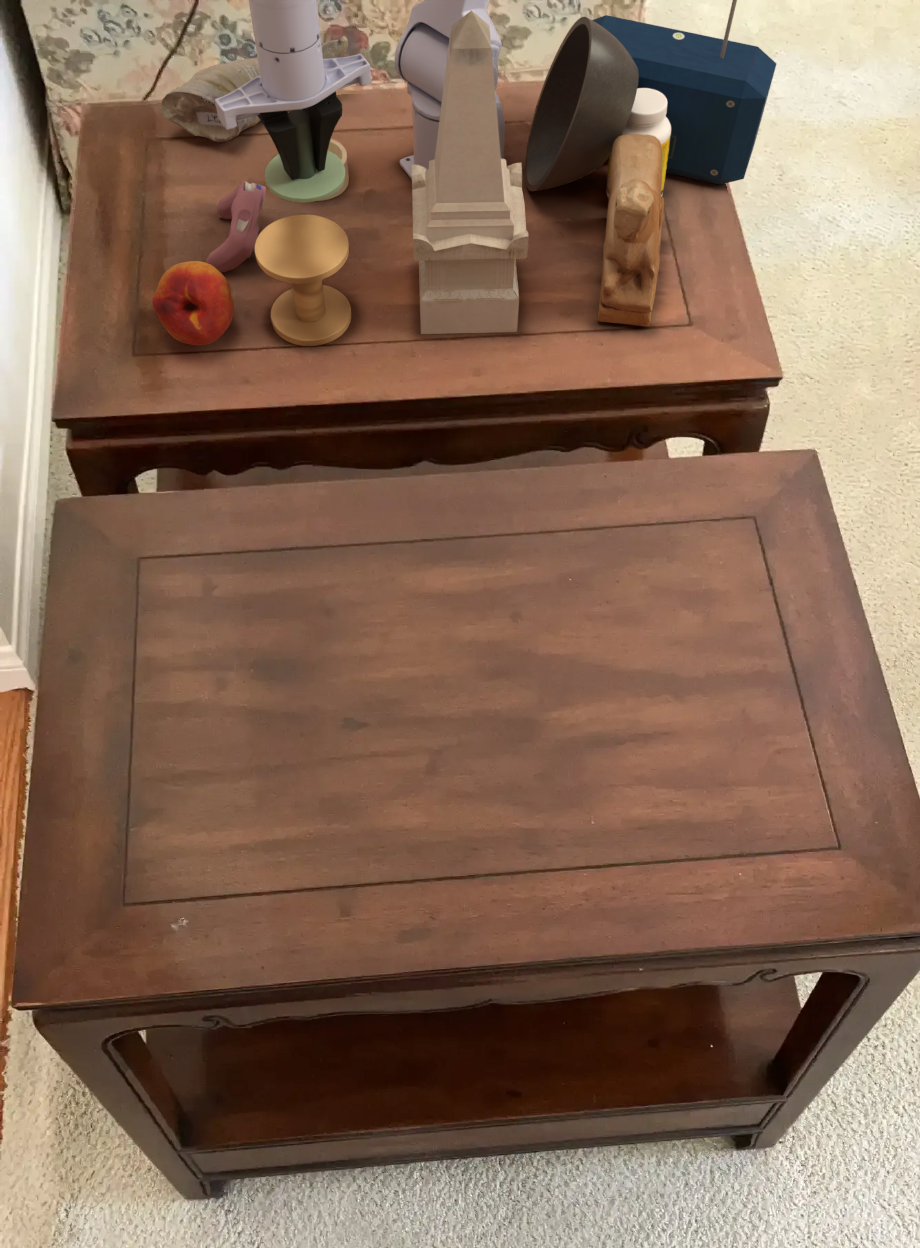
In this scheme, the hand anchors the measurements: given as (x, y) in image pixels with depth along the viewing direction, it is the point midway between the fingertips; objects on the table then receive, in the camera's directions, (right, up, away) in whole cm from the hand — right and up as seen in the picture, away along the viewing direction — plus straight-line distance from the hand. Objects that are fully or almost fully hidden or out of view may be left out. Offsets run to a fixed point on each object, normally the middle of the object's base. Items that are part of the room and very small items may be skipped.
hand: (304, 169), depth 111 cm
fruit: (-11, -15, +3) cm, 19 cm away
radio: (+37, +9, +18) cm, 42 cm away
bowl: (+31, +8, +7) cm, 33 cm away
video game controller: (-8, -4, +10) cm, 13 cm away
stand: (0, -13, +4) cm, 14 cm away
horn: (-4, +13, +18) cm, 23 cm away
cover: (0, 0, +1) cm, 1 cm away
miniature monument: (+16, -11, +6) cm, 20 cm away
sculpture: (+33, -8, +8) cm, 34 cm away
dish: (0, +5, +15) cm, 16 cm away
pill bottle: (+34, +3, +14) cm, 37 cm away
